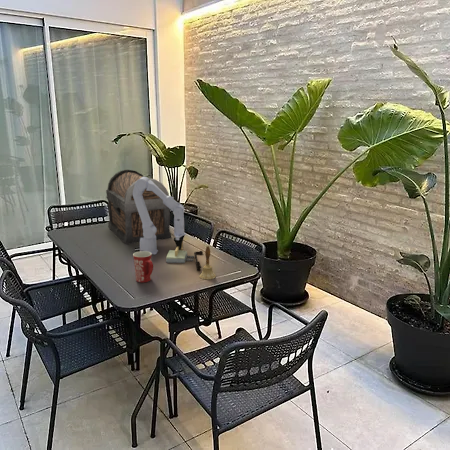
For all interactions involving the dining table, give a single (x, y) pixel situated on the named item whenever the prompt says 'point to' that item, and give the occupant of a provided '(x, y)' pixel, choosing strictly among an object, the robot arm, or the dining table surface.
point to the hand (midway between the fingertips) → (179, 248)
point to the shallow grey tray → (176, 260)
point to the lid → (176, 254)
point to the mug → (143, 266)
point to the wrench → (198, 261)
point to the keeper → (190, 259)
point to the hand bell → (207, 267)
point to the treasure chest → (135, 208)
